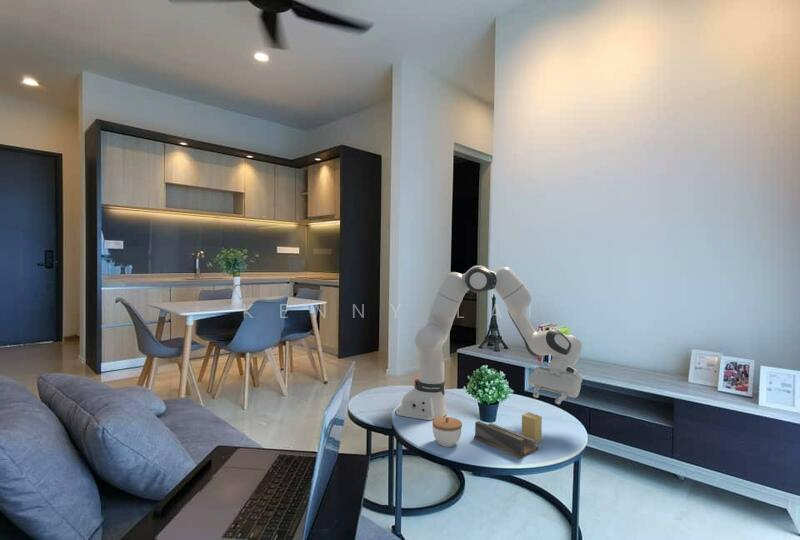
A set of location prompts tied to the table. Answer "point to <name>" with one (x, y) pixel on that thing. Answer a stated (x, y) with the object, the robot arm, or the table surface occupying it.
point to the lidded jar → (447, 430)
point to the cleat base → (504, 439)
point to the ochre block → (532, 426)
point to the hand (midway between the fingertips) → (545, 399)
